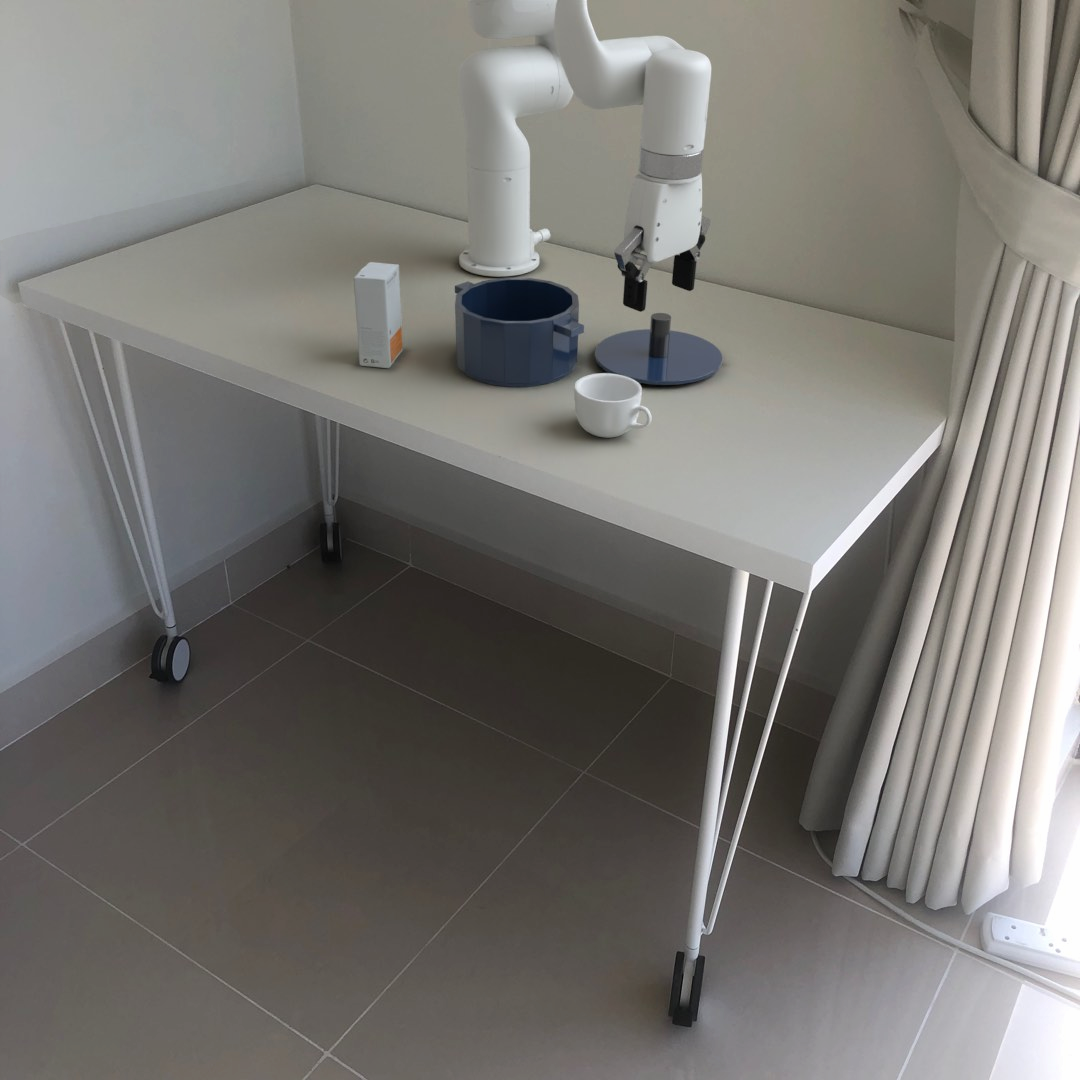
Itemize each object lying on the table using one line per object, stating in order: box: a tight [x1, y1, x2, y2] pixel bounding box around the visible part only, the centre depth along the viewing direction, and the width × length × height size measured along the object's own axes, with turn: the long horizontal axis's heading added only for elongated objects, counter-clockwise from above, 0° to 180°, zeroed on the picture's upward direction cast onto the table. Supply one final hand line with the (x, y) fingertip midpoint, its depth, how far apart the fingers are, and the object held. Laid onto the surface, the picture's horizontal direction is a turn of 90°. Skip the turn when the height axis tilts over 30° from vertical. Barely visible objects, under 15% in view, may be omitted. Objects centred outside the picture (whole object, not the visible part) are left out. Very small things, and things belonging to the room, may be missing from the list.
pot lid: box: [594, 312, 723, 386], centre depth 151 cm, size 17×17×6 cm
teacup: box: [573, 372, 653, 439], centre depth 135 cm, size 10×8×5 cm
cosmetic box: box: [353, 261, 404, 369], centre depth 150 cm, size 6×4×12 cm
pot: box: [454, 277, 585, 388], centre depth 150 cm, size 16×21×8 cm
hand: (658, 297), depth 149 cm, fingers open, 9 cm apart
